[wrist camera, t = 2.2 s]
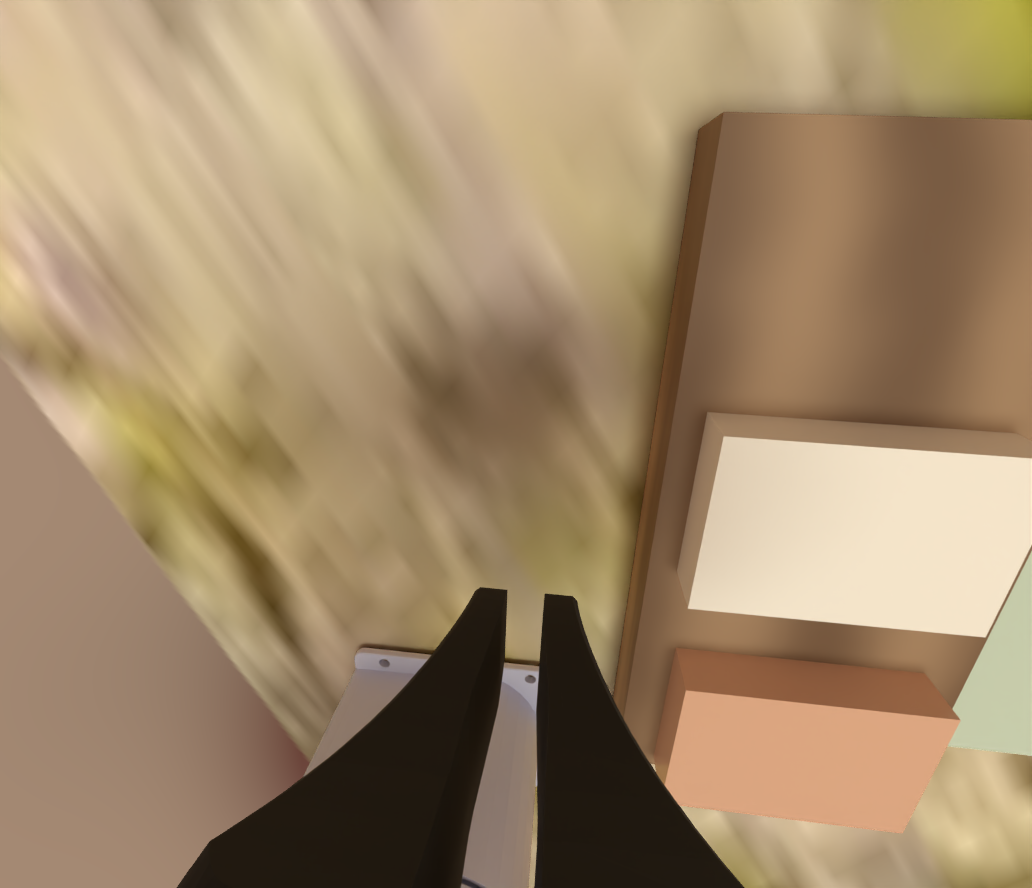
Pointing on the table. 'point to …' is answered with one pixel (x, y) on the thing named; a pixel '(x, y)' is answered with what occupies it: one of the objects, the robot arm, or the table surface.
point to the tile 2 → (800, 738)
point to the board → (831, 344)
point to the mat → (1001, 681)
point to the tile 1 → (857, 522)
